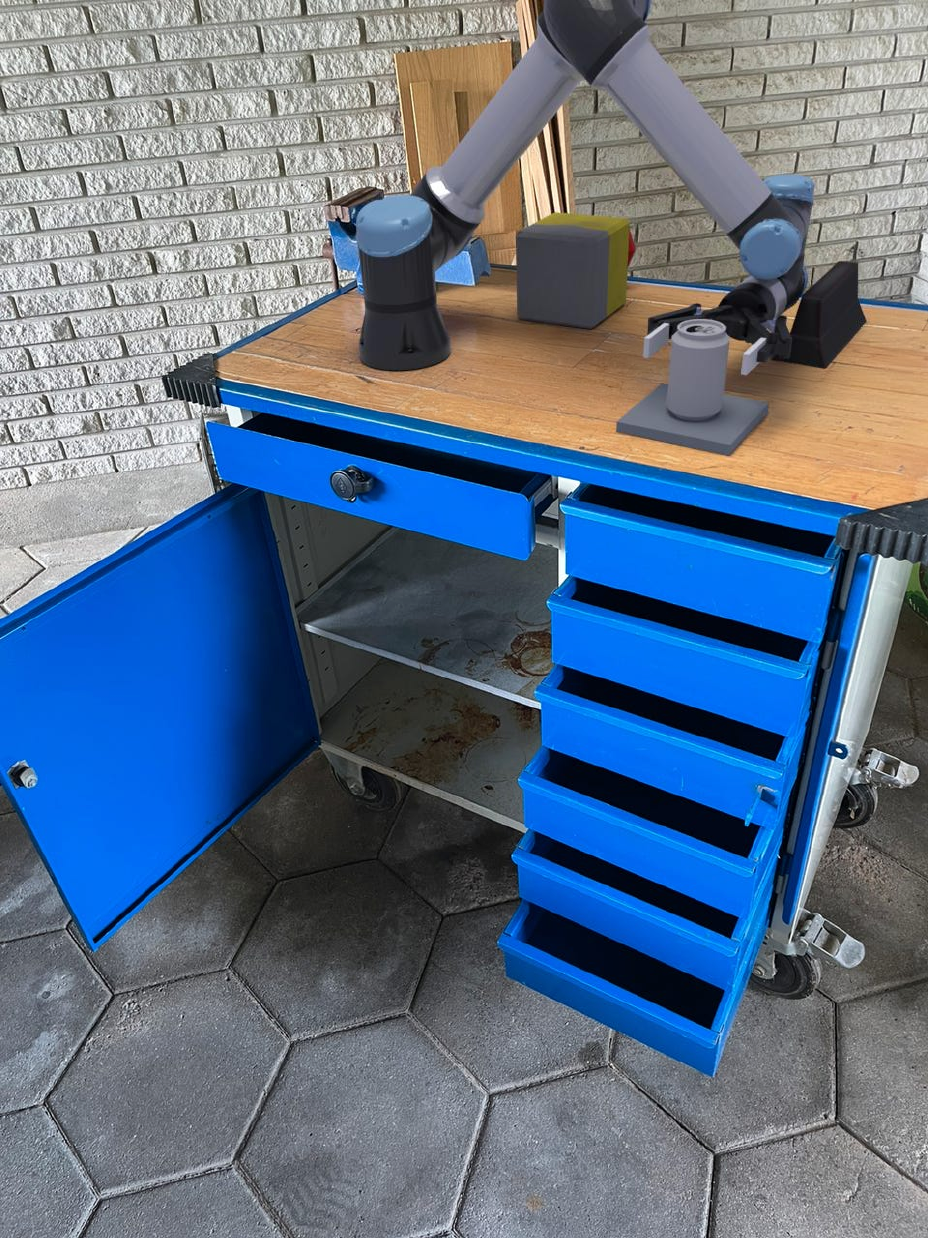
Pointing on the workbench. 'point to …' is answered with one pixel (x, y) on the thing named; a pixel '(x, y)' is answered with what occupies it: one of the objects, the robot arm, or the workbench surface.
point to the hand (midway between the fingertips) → (694, 356)
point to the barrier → (826, 318)
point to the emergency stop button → (572, 268)
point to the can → (697, 369)
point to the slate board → (693, 423)
